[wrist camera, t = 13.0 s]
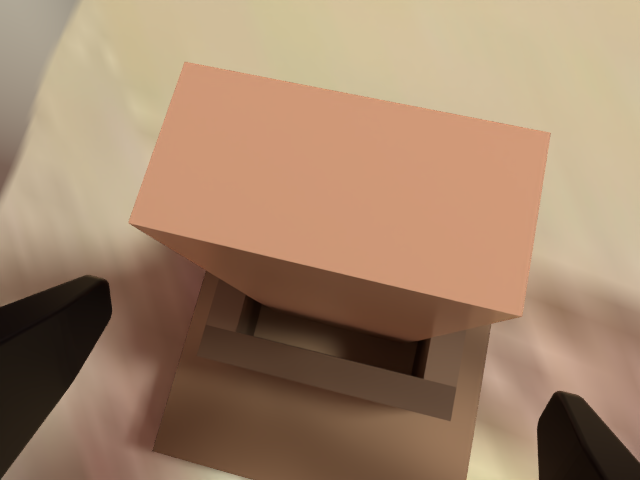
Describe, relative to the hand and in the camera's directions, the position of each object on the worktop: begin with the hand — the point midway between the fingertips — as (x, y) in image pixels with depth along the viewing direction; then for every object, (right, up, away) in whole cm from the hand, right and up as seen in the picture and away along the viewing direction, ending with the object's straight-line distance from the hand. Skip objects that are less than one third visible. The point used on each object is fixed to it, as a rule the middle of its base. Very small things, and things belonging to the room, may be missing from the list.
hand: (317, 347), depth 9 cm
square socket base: (+1, 0, +10) cm, 10 cm away
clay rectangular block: (+1, 0, +9) cm, 9 cm away
